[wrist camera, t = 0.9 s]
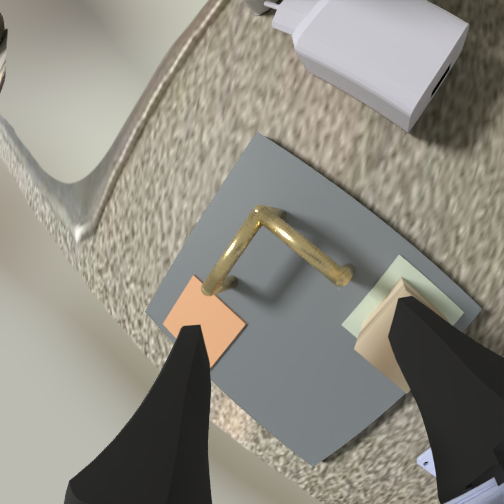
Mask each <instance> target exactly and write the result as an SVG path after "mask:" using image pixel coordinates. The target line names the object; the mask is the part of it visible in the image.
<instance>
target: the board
mask: <svg viewBox="0 0 504 504" xmlns="http://www.w3.org/2000/svg"><path fill="white" fill-rule="evenodd" d="M257 205H265V206H270V207H275V208H280V209H282V210H284V212H285V215H286V217H285V220H284V221H285V222H286V223H287V224H289V225H290V226H291V227H293V228H294V229H295V230H296V231H298V232H299V233H300V234H301V235H303V236H304V237H305V238H306V239H308V240H309V241H310V242H311V243H313V244H314V245H315V246H316V247H318V248H319V249H320V250H321V251H322V252H324V253H325V254H326V255H327V256H329V257H330V258H331V259H332V260H333V261H335V262H336V263H337V264H338V265H340V266H342V265H344V264H347V263H348V264H351V265H352V266H353V267H354V269H355V274H354V276H353V277H352V278H351V279H350V281H349V282H348V283H347V284H346V285H345V286H343V287H338V286H336V285H334V284H333V283H332V282H331V281H330V280H328V279H327V278H326V277H325V276H323V275H322V274H321V273H320V272H319V271H317V270H316V269H315V268H314V267H313V266H311V265H310V264H309V263H308V262H307V261H305V260H304V259H303V258H302V257H301V256H299V255H298V254H297V253H296V252H294V251H293V250H292V249H291V248H290V247H288V246H287V245H286V244H285V243H283V242H282V241H281V240H280V239H279V238H277V237H276V236H275V235H274V234H272V233H271V232H270V231H269V230H267V229H266V228H265V227H264V226H261V228H260V229H259V231H258V232H257V234H256V235H255V236H254V238H253V239H252V241H251V242H250V244H249V245H248V246H247V248H246V249H245V251H244V252H243V254H242V255H241V256H240V258H239V259H238V261H237V262H236V264H235V265H234V267H233V268H232V269H231V271H230V272H229V274H228V275H227V276H229V275H233V276H235V277H236V278H237V280H238V285H237V286H236V287H235V288H233V289H230V290H228V291H225V292H222V293H219V294H216V295H213V296H205V295H204V294H203V293H202V292H201V286H202V284H203V283H204V281H205V280H206V278H207V277H208V275H209V274H210V272H211V271H212V269H213V268H214V266H215V265H216V263H217V262H218V260H219V259H220V257H221V256H222V254H223V253H224V251H225V250H226V248H227V247H228V245H229V244H230V242H231V241H232V239H233V238H234V236H235V235H236V233H237V232H238V230H239V229H240V227H241V226H242V225H243V223H244V222H245V220H246V219H247V217H248V216H249V214H250V213H251V211H252V210H253V208H254V207H255V206H257ZM401 277H402V278H403V279H405V280H406V281H407V282H408V283H409V284H410V285H412V286H413V287H414V288H415V289H416V290H417V291H418V292H420V293H421V294H422V295H423V296H424V297H425V298H426V299H427V300H429V301H430V302H431V303H432V304H433V305H434V306H435V307H436V308H437V309H439V310H440V311H441V312H442V313H443V314H444V315H445V316H446V318H447V320H448V321H449V323H450V324H451V325H452V326H454V327H455V328H457V329H458V330H459V331H461V332H462V333H463V332H464V331H465V330H466V329H467V327H468V326H469V325H470V324H471V322H472V321H473V320H474V319H475V317H476V316H477V315H478V314H479V312H480V311H481V310H482V308H481V307H480V306H479V305H478V304H477V303H476V302H475V301H474V300H472V299H471V298H470V297H469V296H468V295H467V294H466V293H465V292H464V291H463V290H462V289H461V288H460V287H459V286H458V285H457V284H456V283H455V282H453V281H452V280H451V279H450V278H449V277H448V276H447V275H446V274H445V273H444V272H442V271H441V270H440V269H439V268H438V267H437V266H436V265H435V264H434V263H432V262H431V261H430V260H429V259H428V258H427V257H426V256H424V255H423V254H422V253H421V252H420V251H419V250H417V249H416V248H415V247H414V246H413V245H412V244H410V243H409V242H408V241H407V240H406V239H404V238H403V237H402V236H401V235H400V234H398V233H397V232H396V231H395V230H393V229H392V228H391V227H390V226H388V225H387V224H386V223H385V222H384V221H382V220H381V219H380V218H378V217H377V216H376V215H375V214H373V213H372V212H371V211H370V210H368V209H367V208H366V207H364V206H363V205H362V204H360V203H359V202H358V201H357V200H355V199H354V198H353V197H351V196H350V195H349V194H347V193H346V192H345V191H343V190H342V189H340V188H339V187H338V186H336V185H335V184H334V183H332V182H331V181H329V180H328V179H327V178H325V177H324V176H322V175H321V174H320V173H318V172H317V171H315V170H314V169H313V168H311V167H310V166H308V165H307V164H305V163H304V162H302V161H301V160H300V159H298V158H297V157H295V156H294V155H292V154H291V153H289V152H288V151H286V150H285V149H283V148H282V147H280V146H279V145H277V144H276V143H274V142H272V141H271V140H269V139H268V138H266V137H265V136H263V135H262V134H260V133H258V132H257V133H256V134H255V136H254V137H253V139H252V140H251V142H250V143H249V145H248V146H247V148H246V149H245V150H244V152H243V153H242V155H241V156H240V158H239V159H238V161H237V162H236V164H235V165H234V167H233V168H232V170H231V171H230V173H229V175H228V176H227V178H226V179H225V181H224V182H223V184H222V185H221V187H220V188H219V190H218V191H217V193H216V195H215V196H214V198H213V199H212V201H211V202H210V204H209V206H208V207H207V209H206V210H205V212H204V213H203V215H202V217H201V218H200V220H199V221H198V223H197V225H196V226H195V228H194V230H193V231H192V233H191V234H190V236H189V238H188V239H187V241H186V243H185V244H184V246H183V248H182V249H181V251H180V253H179V254H178V256H177V258H176V259H175V261H174V263H173V264H172V266H171V268H170V269H169V271H168V273H167V274H166V276H165V278H164V280H163V281H162V283H161V285H160V286H159V288H158V290H157V292H156V293H155V295H154V297H153V299H152V300H151V302H150V304H149V306H148V307H147V309H146V311H145V312H146V313H147V314H148V316H149V317H150V318H151V319H152V320H153V321H154V322H155V323H156V324H157V325H158V326H159V328H160V329H161V330H162V331H163V332H164V333H165V334H166V335H167V336H168V337H169V338H170V339H171V340H172V341H173V342H174V343H175V341H176V339H177V336H178V334H179V331H180V329H181V328H182V326H187V325H201V329H202V333H203V337H204V341H205V345H206V349H207V353H208V357H209V361H210V376H211V380H212V381H213V382H214V383H215V384H216V385H217V386H218V387H219V388H220V389H221V390H222V391H223V392H224V393H225V394H226V395H227V396H229V397H230V398H231V399H232V400H233V401H234V402H235V403H236V404H237V405H238V406H240V407H241V408H242V409H243V410H244V411H245V412H246V413H247V414H249V415H250V416H251V417H252V418H253V419H254V420H255V421H257V422H258V423H259V424H260V425H261V426H262V427H264V428H265V429H266V430H267V431H268V432H270V433H271V434H272V435H273V436H274V437H276V438H277V439H278V440H279V441H281V442H282V443H283V444H284V445H285V446H287V447H288V448H289V449H290V450H292V451H293V452H294V453H296V454H297V455H298V456H299V457H301V458H302V459H303V460H305V461H306V462H307V463H309V464H310V465H311V466H312V467H314V466H315V465H317V464H318V463H320V462H321V461H322V460H324V459H325V458H327V457H328V456H330V455H331V454H332V453H334V452H335V451H336V450H338V449H339V448H341V447H342V446H343V445H345V444H346V443H347V442H349V441H350V440H351V439H352V438H354V437H355V436H356V435H358V434H359V433H360V432H361V431H363V430H364V429H365V428H366V427H367V426H369V425H370V424H371V423H372V422H374V421H375V420H376V419H377V418H378V417H379V416H381V415H382V414H383V413H384V412H385V411H386V410H388V409H389V408H390V407H391V406H392V405H393V404H394V403H395V402H397V401H398V400H399V399H400V398H401V397H402V396H403V395H404V394H405V392H404V391H403V390H402V389H401V388H399V387H398V386H397V385H396V384H395V383H393V382H392V381H391V380H390V379H389V378H388V377H386V376H385V375H384V374H383V373H382V372H380V371H379V370H378V369H377V368H376V367H375V366H373V365H372V364H371V363H370V362H369V361H367V360H366V359H365V358H364V357H363V356H362V355H360V354H359V353H358V352H357V351H356V350H354V347H355V344H356V341H357V338H358V335H359V332H360V329H361V326H362V323H363V322H364V321H365V320H366V319H367V317H368V316H369V315H370V314H371V313H372V312H373V310H374V309H375V308H376V307H377V306H378V305H379V303H380V302H381V301H382V300H383V299H384V297H385V296H386V295H387V294H388V293H389V291H390V290H391V289H392V288H393V286H394V285H395V284H396V283H397V282H398V280H399V279H400V278H401Z"/></svg>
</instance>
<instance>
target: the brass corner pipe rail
mask: <svg viewBox="0 0 504 504" xmlns="http://www.w3.org/2000/svg"><path fill="white" fill-rule="evenodd" d="M285 217H286V215H285V212H284V210H282V209H280V208H275V207H270V206H265V205H257V206H255V207H254V208H253V210H252V211H251V213H250V214H249V216H248V217H247V219H246V220H245V222H244V223H243V225H242V226H241V227H240V229H239V230H238V232H237V233H236V235H235V236H234V238H233V239H232V241H231V242H230V244H229V245H228V247H227V248H226V250H225V251H224V253H223V254H222V256H221V257H220V259H219V260H218V262H217V263H216V265H215V266H214V268H213V269H212V271H211V272H210V274H209V275H208V277H207V278H206V280H205V281H204V283H203V284H202V286H201V292H202V293H203V294H204V295H205V296H213V295H216V294H219V293H222V292H225V291H228V290H230V289H233V288H235V287H236V286H237V285H238V280H237V278H236V277H235V276H233V275H229V276H227V275H228V274H229V272H230V271H231V269H232V268H233V267H234V265H235V264H236V262H237V261H238V259H239V258H240V256H241V255H242V254H243V252H244V251H245V249H246V248H247V246H248V245H249V244H250V242H251V241H252V239H253V238H254V236H255V235H256V234H257V232H258V231H259V229H260V228H261V226H264V227H265V228H266V229H267V230H269V231H270V232H271V233H272V234H274V235H275V236H276V237H277V238H279V239H280V240H281V241H282V242H283V243H285V244H286V245H287V246H288V247H290V248H291V249H292V250H293V251H294V252H296V253H297V254H298V255H299V256H301V257H302V258H303V259H304V260H305V261H307V262H308V263H309V264H310V265H311V266H313V267H314V268H315V269H316V270H317V271H319V272H320V273H321V274H322V275H323V276H325V277H326V278H327V279H328V280H330V281H331V282H332V283H333V284H334V285H336V286H338V287H343V286H345V285H346V284H347V283H348V282H349V281H350V279H351V278H352V277H353V276H354V274H355V269H354V267H353V266H352V265H351V264H348V263H347V264H344V265H342V266H340V265H338V264H337V263H336V262H335V261H333V260H332V259H331V258H330V257H329V256H327V255H326V254H325V253H324V252H322V251H321V250H320V249H319V248H318V247H316V246H315V245H314V244H313V243H311V242H310V241H309V240H308V239H306V238H305V237H304V236H303V235H301V234H300V233H299V232H298V231H296V230H295V229H294V228H293V227H291V226H290V225H289V224H287V223H286V222H285V221H284V220H285Z"/></svg>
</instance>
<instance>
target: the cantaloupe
mask: <svg viewBox="0 0 504 504" xmlns="http://www.w3.org/2000/svg"><path fill="white" fill-rule="evenodd" d="M4 28H5V27H4V20H3V17H2V15H1V13H0V42H1V40H2V38H3V35H4Z"/></svg>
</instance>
